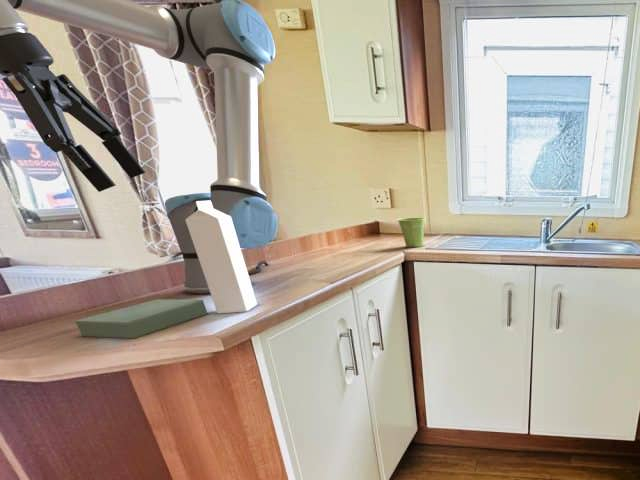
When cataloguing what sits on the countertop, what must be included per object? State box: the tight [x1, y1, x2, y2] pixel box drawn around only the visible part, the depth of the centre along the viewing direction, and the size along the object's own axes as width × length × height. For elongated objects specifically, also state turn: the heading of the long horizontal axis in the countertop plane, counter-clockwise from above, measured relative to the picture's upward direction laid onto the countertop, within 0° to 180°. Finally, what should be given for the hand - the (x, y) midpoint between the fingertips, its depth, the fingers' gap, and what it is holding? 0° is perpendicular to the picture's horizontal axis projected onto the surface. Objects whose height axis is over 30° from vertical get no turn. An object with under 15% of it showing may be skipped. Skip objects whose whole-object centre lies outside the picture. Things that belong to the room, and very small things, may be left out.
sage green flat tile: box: [74, 298, 208, 339], centre depth 84 cm, size 16×12×3 cm
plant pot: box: [396, 217, 427, 248], centre depth 180 cm, size 12×12×11 cm
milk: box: [186, 200, 258, 314], centre depth 88 cm, size 6×6×22 cm
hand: (124, 181), depth 77 cm, fingers open, 13 cm apart
